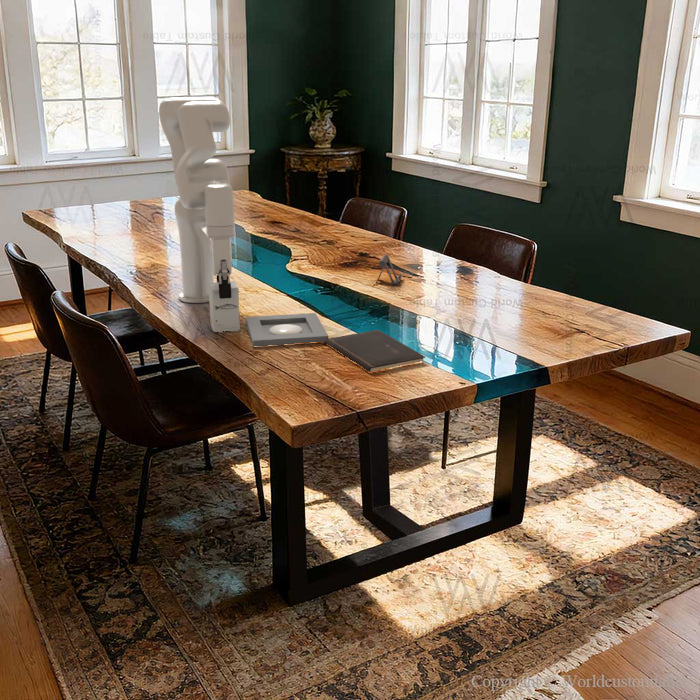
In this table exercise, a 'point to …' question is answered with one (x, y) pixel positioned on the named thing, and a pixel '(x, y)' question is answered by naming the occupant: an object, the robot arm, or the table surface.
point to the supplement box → (224, 309)
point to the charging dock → (285, 329)
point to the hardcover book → (374, 350)
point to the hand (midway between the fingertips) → (224, 293)
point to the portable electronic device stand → (383, 264)
